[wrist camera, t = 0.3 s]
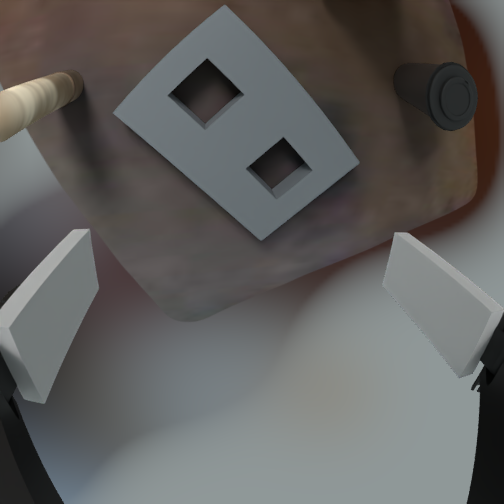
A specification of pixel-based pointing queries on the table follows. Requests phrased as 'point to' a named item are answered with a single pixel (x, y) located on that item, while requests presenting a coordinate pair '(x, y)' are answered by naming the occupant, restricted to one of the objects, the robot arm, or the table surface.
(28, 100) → the maple leg
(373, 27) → the table surface
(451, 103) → the coffee cup
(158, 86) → the stool seat
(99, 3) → the table surface
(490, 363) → the robot arm
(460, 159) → the table surface
